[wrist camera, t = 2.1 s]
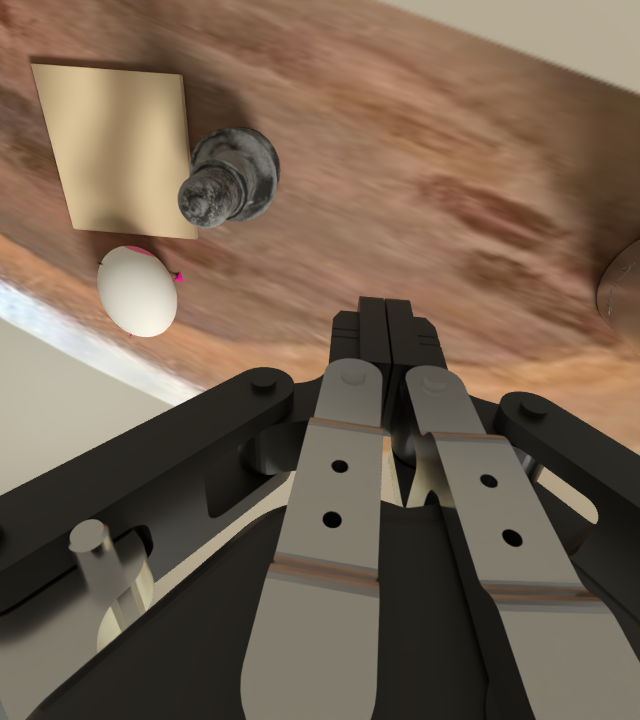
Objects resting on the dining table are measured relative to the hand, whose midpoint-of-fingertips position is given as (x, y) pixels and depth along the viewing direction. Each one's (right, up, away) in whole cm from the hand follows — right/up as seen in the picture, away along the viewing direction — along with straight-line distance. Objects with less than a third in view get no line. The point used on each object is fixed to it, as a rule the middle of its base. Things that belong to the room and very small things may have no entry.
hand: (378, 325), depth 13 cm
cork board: (-16, +14, +19) cm, 29 cm away
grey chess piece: (-7, +13, +19) cm, 24 cm away
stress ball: (-17, +6, +25) cm, 30 cm away
